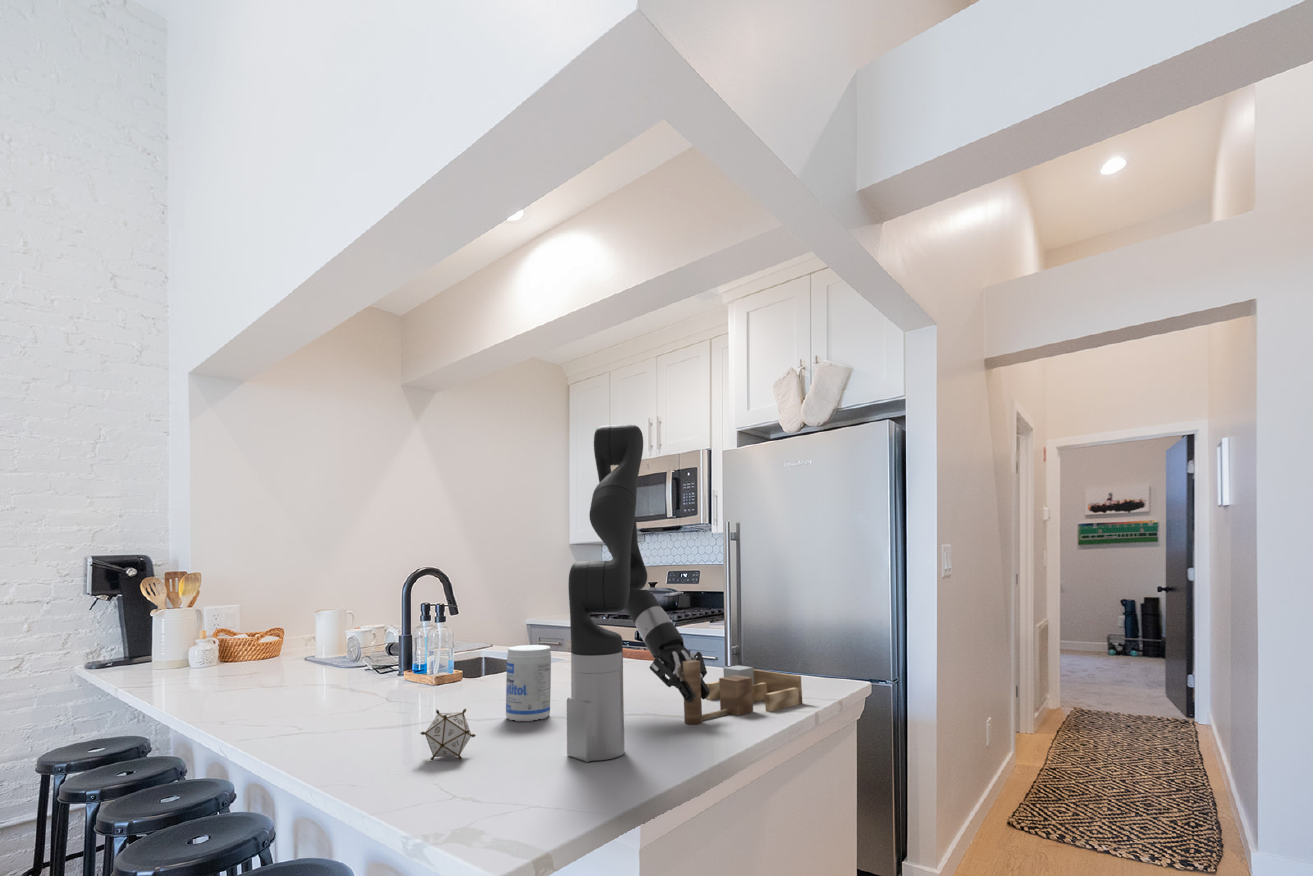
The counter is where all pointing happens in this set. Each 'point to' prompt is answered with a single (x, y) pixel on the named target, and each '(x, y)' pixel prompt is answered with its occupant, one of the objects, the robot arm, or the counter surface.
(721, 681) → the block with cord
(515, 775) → the counter surface
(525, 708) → the supplement tub
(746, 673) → the grey block
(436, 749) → the game die
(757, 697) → the lane shelf
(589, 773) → the counter surface
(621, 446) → the robot arm
